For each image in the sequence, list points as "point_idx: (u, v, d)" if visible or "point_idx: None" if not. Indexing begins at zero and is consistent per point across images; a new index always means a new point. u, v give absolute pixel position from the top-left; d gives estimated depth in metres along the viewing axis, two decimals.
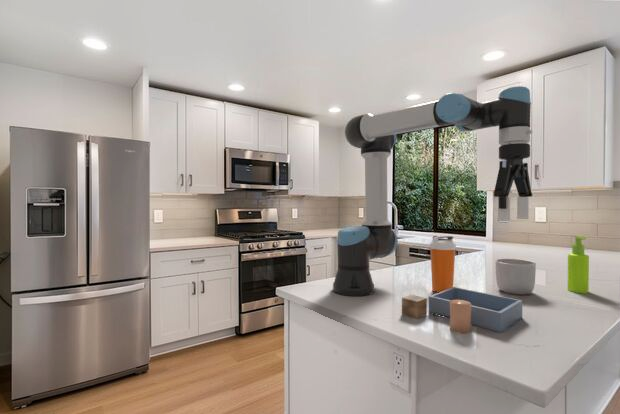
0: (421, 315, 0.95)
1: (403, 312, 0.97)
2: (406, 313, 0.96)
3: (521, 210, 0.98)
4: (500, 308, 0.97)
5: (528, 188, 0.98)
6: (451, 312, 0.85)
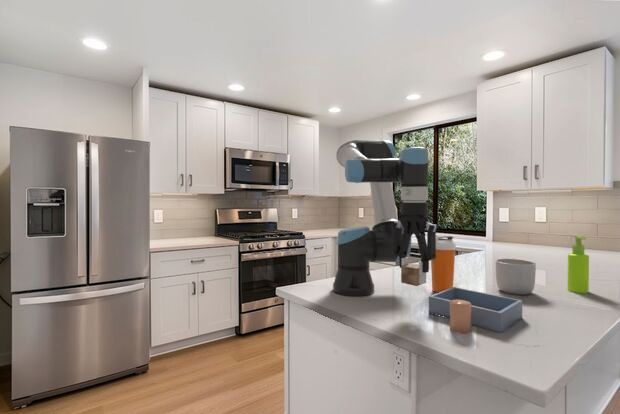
0: None
1: (402, 280, 0.97)
2: (405, 281, 0.96)
3: None
4: (500, 308, 0.97)
5: (427, 252, 0.92)
6: (451, 312, 0.85)
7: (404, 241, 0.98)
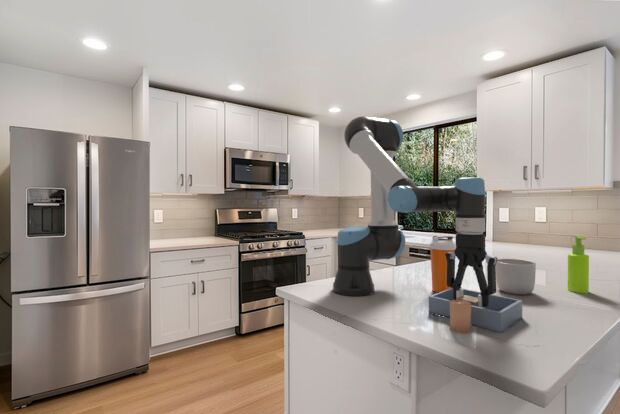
0: None
1: None
2: None
3: None
4: (500, 308, 0.97)
5: (488, 285, 0.89)
6: (451, 312, 0.85)
7: (459, 273, 0.94)
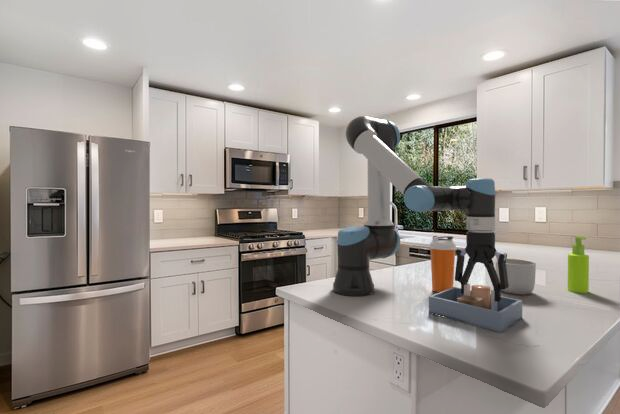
0: None
1: None
2: None
3: None
4: (500, 308, 0.97)
5: (500, 281, 0.93)
6: (473, 295, 0.98)
7: (468, 269, 0.99)
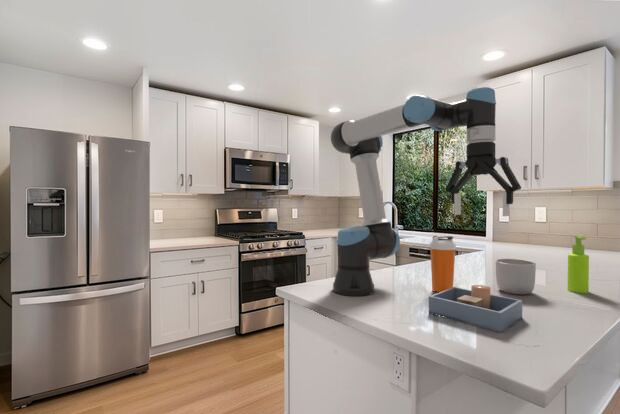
0: None
1: None
2: None
3: None
4: (500, 308, 0.97)
5: (510, 183, 0.91)
6: (473, 295, 0.98)
7: (463, 180, 1.00)
